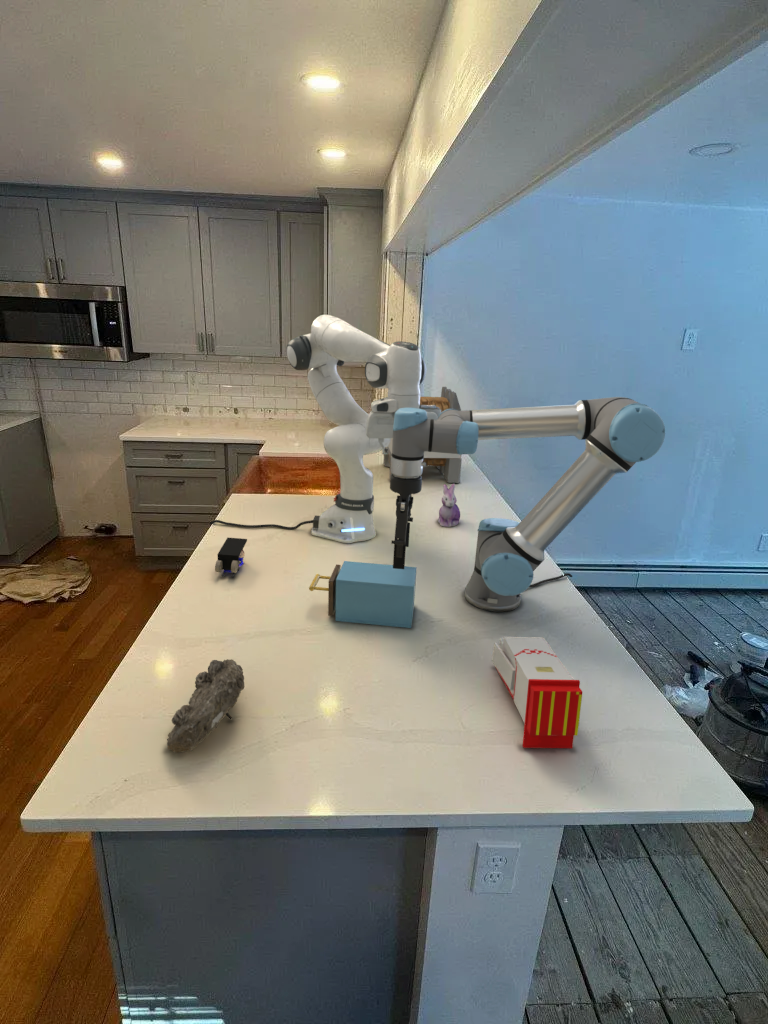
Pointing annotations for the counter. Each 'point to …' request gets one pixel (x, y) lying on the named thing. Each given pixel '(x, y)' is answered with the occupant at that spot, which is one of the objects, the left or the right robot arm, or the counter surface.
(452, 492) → the figurine
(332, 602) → the drawer
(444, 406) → the transformer
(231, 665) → the fossil
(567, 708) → the toy
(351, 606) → the cabinet
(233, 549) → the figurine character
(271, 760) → the counter surface
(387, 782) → the counter surface
